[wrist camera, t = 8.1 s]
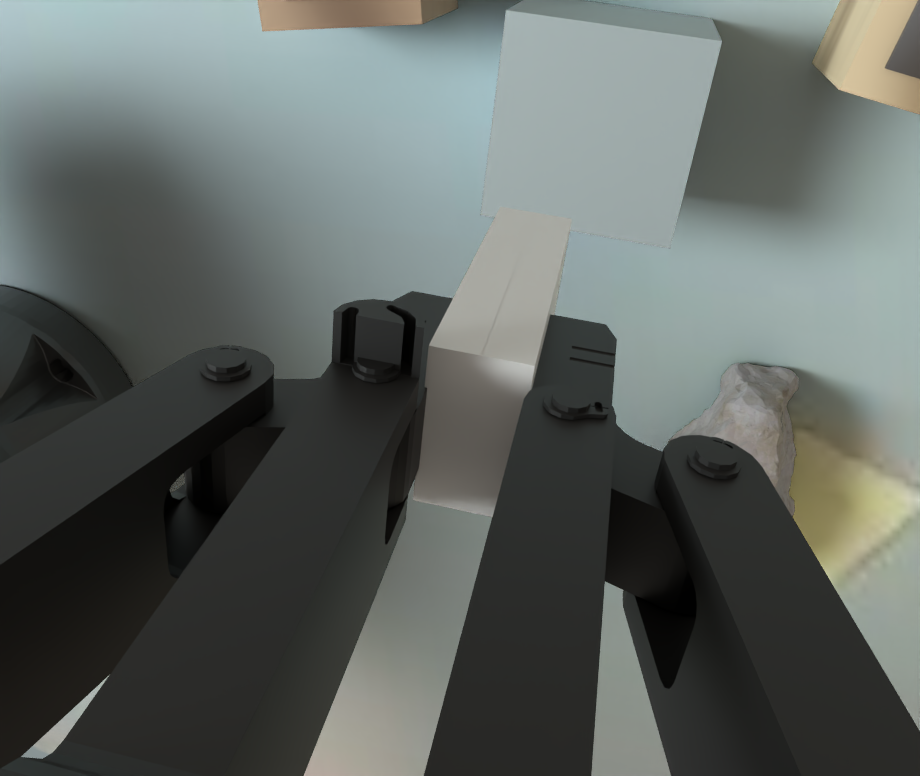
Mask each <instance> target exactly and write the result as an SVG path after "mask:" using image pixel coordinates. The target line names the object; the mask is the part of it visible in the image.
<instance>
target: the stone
mask: <svg viewBox="0 0 920 776" xmlns="http://www.w3.org/2000/svg"><path fill="white" fill-rule="evenodd" d="M798 385H799V378H798V377H797V376H796V374H795V373H794V372H793V371H791V370H789V369H787V368H782V367H777V366H773V367H764V366H759V365H752V364H750V363H746V364H740V363H736V364H732V365H731V366H730V367H729V368H728V369H727V370H726V371H725V372H724V374H723V375H722V377H721V383H720V387H721V391H720V393H719V396H718V397H717V399H716V400H715V401H714V403H713V404H712V406H711V407H710V408H708V409H705V410H704V412H703V413H702V415H701V416H700V417H699V418H697V419H694V420H692V421H691V422H690V423H689V424H688V425H686V426H684V428H683V429H681V430H679V431H678V432H677V433H676V434H675V435H674V436H673V437H672V438H671V439H670V440H673V439H675V438H678V437H680V436H686V435H703V436H709V437H717V438H721V439H724V441H726V440H727V441H729V442H731V443H734V444H735V445H737V446H739V447H740V448H742V449H743V450H745V451H746V452H748V453H750V454H751V455H752V456H753V457H754V458H755V459H756V460H757V461H758V462H759V463H760V465H761V466H762V467H763V469H764V471H765V472H766V474H767V476H768V477H769V479H770V481H771V482H772V484H773V486H774V487H775V489H776V491H777V492H778V494H779V496H780V497H781V499H782V501H783V502H784V504H785V506H786V507H787V509H788V511H789V513H790V514H791V516H792V517H793V514H794V512H795V506H794V500H793V499H792V498H791V497H790V496H789V489H790V486H791V476H792V474H793V470H794V458H795V456H796V449H795V445H794V442H793V440H794V435H793V432H792V426H791V420H790V416H789V413H788V410H787V404H788V401H789V400H790V399H791V398H792V396H793V394H794V392H796V391H797V390H798ZM670 440H669V441H670ZM668 443H669V442H668Z"/></svg>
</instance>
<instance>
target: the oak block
mask: <svg viewBox="0 0 920 776" xmlns="http://www.w3.org/2000/svg"><path fill="white" fill-rule="evenodd" d="M812 64H813V65H814V66H815V67H816V68H817V69H818V70H819V71H820V72H822V73H823V74H824V75H825V76H826V77H827V78H828V79H829V80H830V81H831V82H832V83H833V84H834V85H835V86H836V87H837V88H838V89H839V90H841V91H844V92H848V93H851V94H854V95H858V96H861V97H864V98H867V99H871V100H874V101H877V102H880V103H884V104H887V105H890V106H894V107H897V108H900V109H903V110H907V111H910V112H913V113H917V114H920V0H840V2H839V4H838V6H837V9H836V11H835V13H834V15H833V17H832V20H831V22H830V24H829V26H828V28H827V31H826V33H825V35H824V37H823V39H822V42H821V44H820V46H819V48H818V50H817V53H816V55H815V57H814V59H813V62H812Z"/></svg>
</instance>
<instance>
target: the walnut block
mask: <svg viewBox="0 0 920 776" xmlns="http://www.w3.org/2000/svg"><path fill="white" fill-rule="evenodd" d="M258 6H259V12H260V19H261V25H262V31H280V30H302V29H325V28H347V27H369V26H392V25H414V24H424V23H426V22H428V21H430V20H433V19H435V18H437V17H439V16H442V15H444V14H446V13H448V12H451V11H453V10H455V9H457V8H458V0H258Z"/></svg>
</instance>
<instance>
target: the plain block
mask: <svg viewBox="0 0 920 776" xmlns="http://www.w3.org/2000/svg"><path fill="white" fill-rule="evenodd" d="M721 44H722V40H721V37H720V35H719V33H718V31H717V29H716V26H715V24H714V22H713V20H712V18H705V17H698V16H691V15H684V14H677V13H670V12H663V11H655V10H648V9H641V8H634V7H627V6H620V5H613V4H606V3H598V2H591V1H584V0H522V1H521V2H519V3H517V4H516V5H514V6H512V7H510V8H509V9H507V10H506V14H505V22H504V30H503V38H502V46H501V54H500V62H499V70H498V78H497V86H496V94H495V102H494V110H493V118H492V126H491V134H490V142H489V150H488V158H487V166H486V174H485V182H484V190H483V198H482V206H481V214H480V215H482V216H488V217H494V218H495V216H496V214H497V212H498V210H499V208H500V207H505V208H511V209H517V210H523V211H529V212H535V213H541V214H546V215H552V216H558V217H564V218H570V219H572V223H571V228H570V231H573V232H579V233H585V234H590V235H596V236H602V237H607V238H613V239H619V240H624V241H630V242H636V243H641V244H647V245H653V246H658V247H664V248H670V247H671V243H672V239H673V235H674V231H675V227H676V223H677V219H678V215H679V211H680V207H681V203H682V199H683V195H684V191H685V187H686V183H687V179H688V175H689V171H690V167H691V163H692V159H693V155H694V151H695V147H696V143H697V139H698V136H699V132H700V128H701V124H702V120H703V116H704V112H705V108H706V104H707V100H708V96H709V92H710V88H711V84H712V80H713V76H714V72H715V68H716V64H717V60H718V56H719V52H720V48H721Z"/></svg>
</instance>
